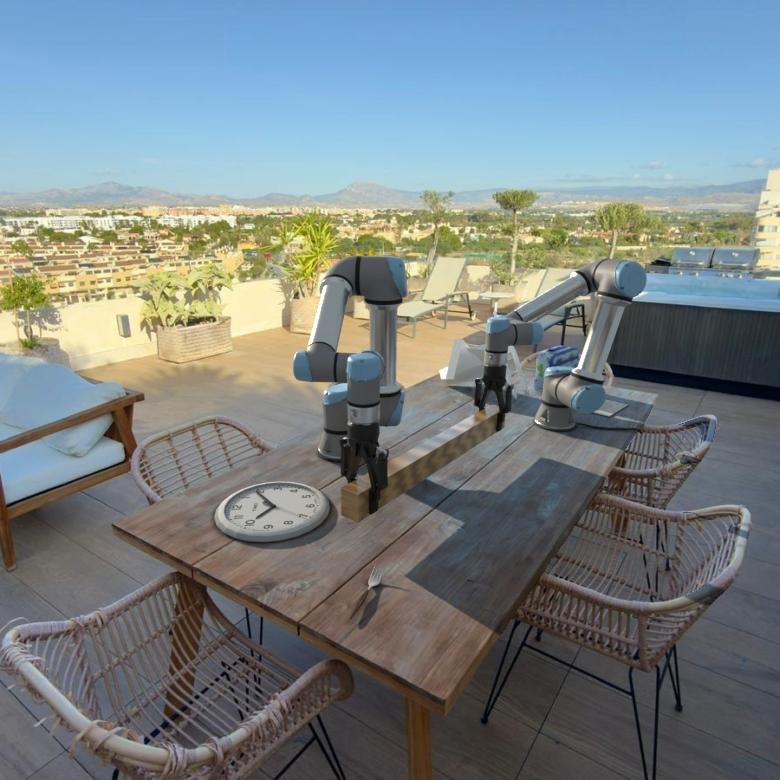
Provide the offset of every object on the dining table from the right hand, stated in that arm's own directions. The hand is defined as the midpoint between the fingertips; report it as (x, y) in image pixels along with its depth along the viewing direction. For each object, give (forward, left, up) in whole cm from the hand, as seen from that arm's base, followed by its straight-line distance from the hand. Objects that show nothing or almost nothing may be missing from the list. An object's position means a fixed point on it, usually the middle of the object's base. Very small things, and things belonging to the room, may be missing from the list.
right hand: (490, 428), depth 182 cm
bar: (+17, +30, -1) cm, 35 cm away
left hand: (+35, +60, 0) cm, 69 cm away
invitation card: (-51, -51, -7) cm, 72 cm away
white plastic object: (+1, -63, -7) cm, 63 cm away
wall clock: (+60, +53, -7) cm, 81 cm away
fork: (+30, +83, -7) cm, 89 cm away
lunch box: (-35, -72, -7) cm, 80 cm away
